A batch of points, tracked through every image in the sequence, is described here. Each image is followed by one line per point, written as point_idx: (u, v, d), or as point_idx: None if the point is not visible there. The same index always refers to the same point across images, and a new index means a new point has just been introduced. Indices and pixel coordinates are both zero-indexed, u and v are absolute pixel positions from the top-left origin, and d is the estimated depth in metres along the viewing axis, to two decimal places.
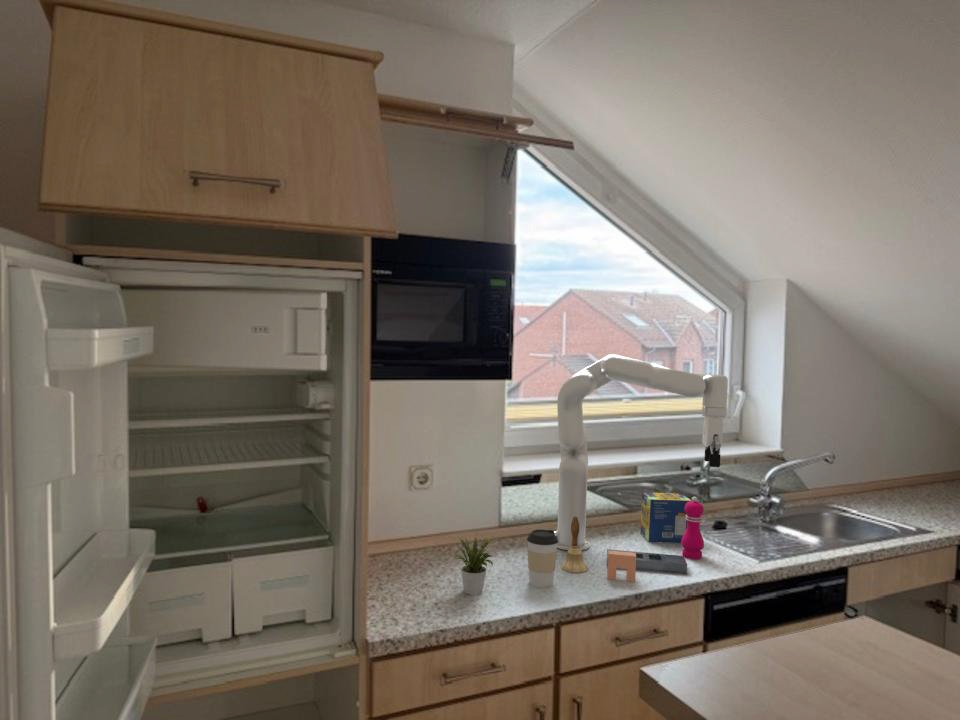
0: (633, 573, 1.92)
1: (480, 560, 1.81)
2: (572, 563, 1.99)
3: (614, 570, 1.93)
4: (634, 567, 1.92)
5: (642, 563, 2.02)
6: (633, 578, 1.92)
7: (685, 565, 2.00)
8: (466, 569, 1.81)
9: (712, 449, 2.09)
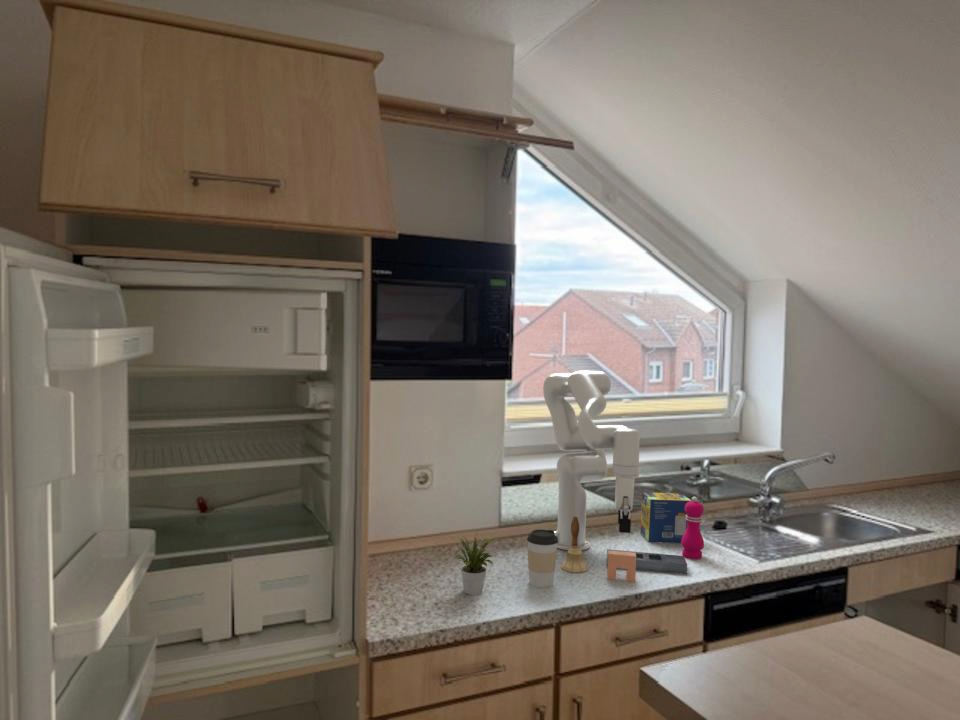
0: (633, 573, 1.92)
1: (480, 560, 1.81)
2: (572, 563, 1.99)
3: (614, 570, 1.93)
4: (634, 567, 1.92)
5: (642, 563, 2.02)
6: (633, 578, 1.92)
7: (685, 565, 2.00)
8: (466, 569, 1.81)
9: (621, 513, 1.88)
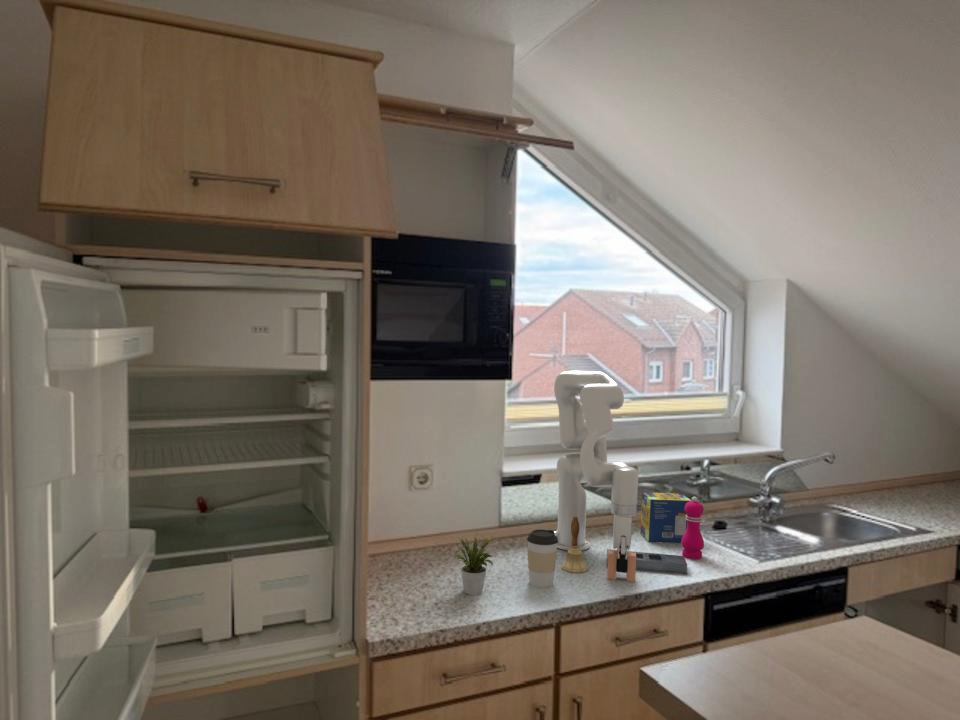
0: (633, 573, 1.92)
1: (480, 560, 1.81)
2: (572, 563, 1.99)
3: (614, 570, 1.93)
4: (634, 567, 1.92)
5: (642, 563, 2.02)
6: (633, 578, 1.92)
7: (685, 565, 2.00)
8: (466, 569, 1.81)
9: None
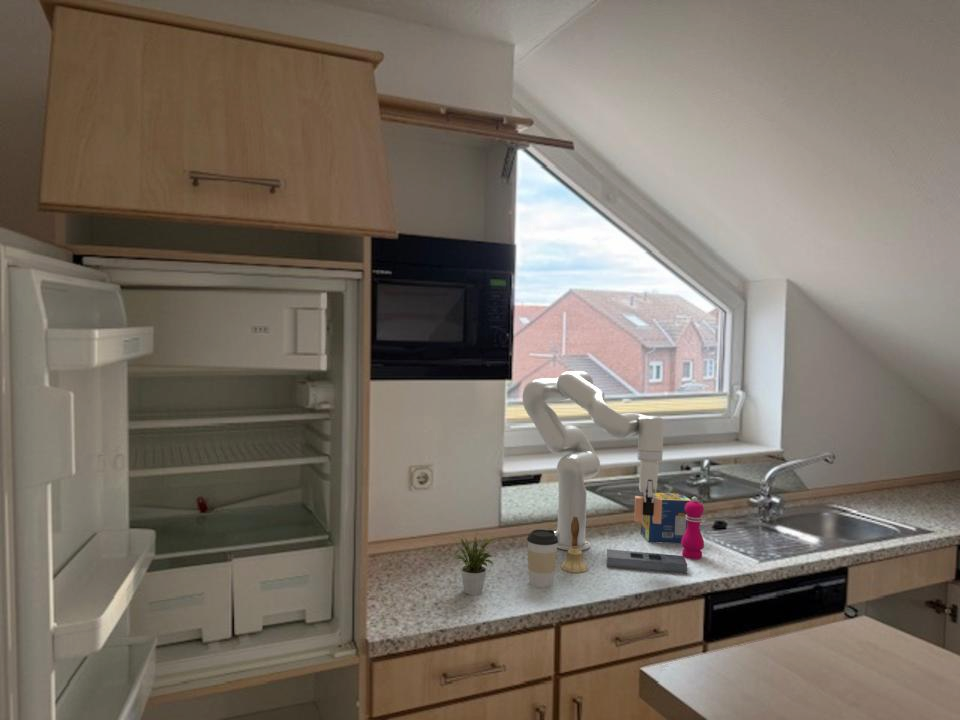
0: (659, 516, 2.03)
1: (480, 560, 1.81)
2: (572, 563, 1.99)
3: (641, 513, 2.04)
4: (660, 510, 2.03)
5: (642, 563, 2.02)
6: (659, 521, 2.03)
7: (685, 565, 2.00)
8: (466, 569, 1.81)
9: (645, 498, 2.02)
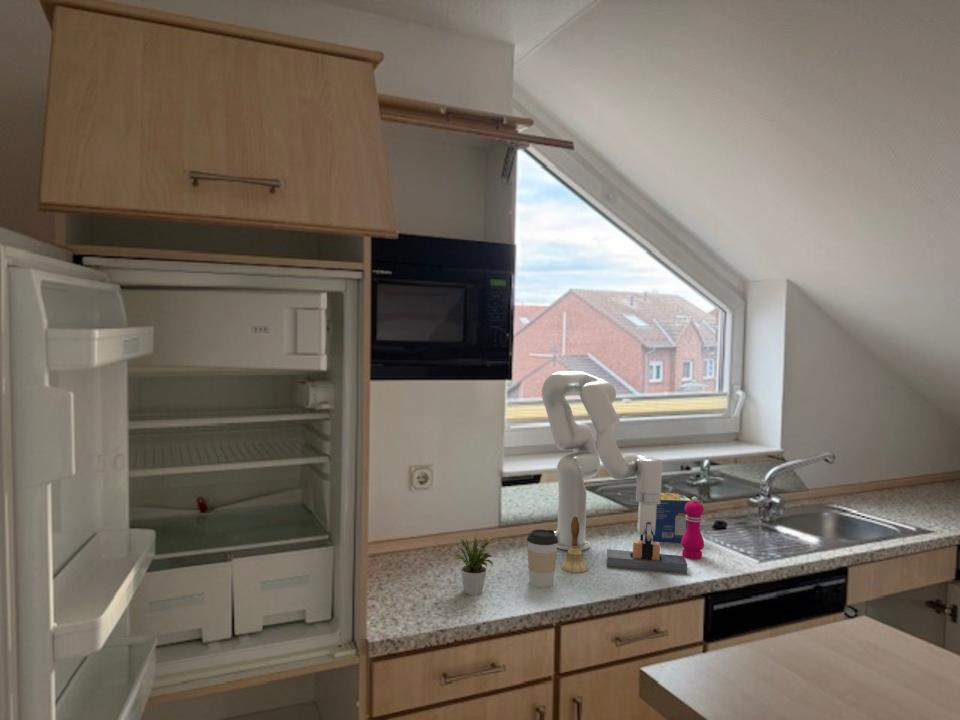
0: None
1: (480, 560, 1.81)
2: (572, 563, 1.99)
3: None
4: (658, 555, 2.03)
5: (642, 563, 2.02)
6: None
7: (685, 565, 2.00)
8: (466, 569, 1.81)
9: (644, 538, 2.01)
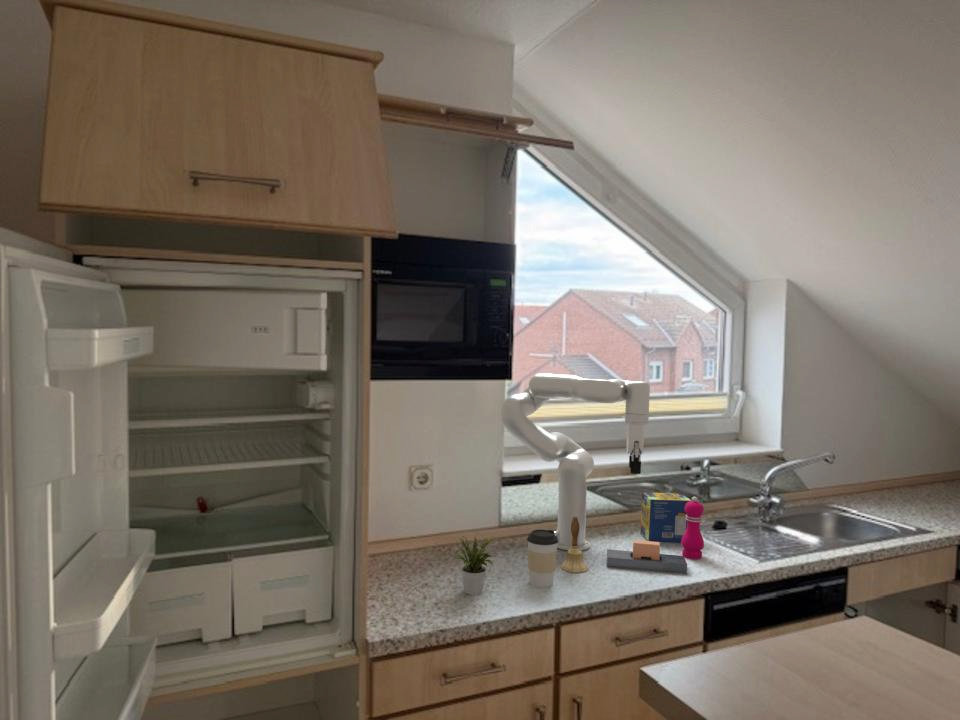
0: None
1: (480, 560, 1.81)
2: (572, 563, 1.99)
3: None
4: (658, 555, 2.03)
5: (642, 563, 2.02)
6: None
7: (685, 565, 2.00)
8: (466, 569, 1.81)
9: (633, 456, 2.09)
